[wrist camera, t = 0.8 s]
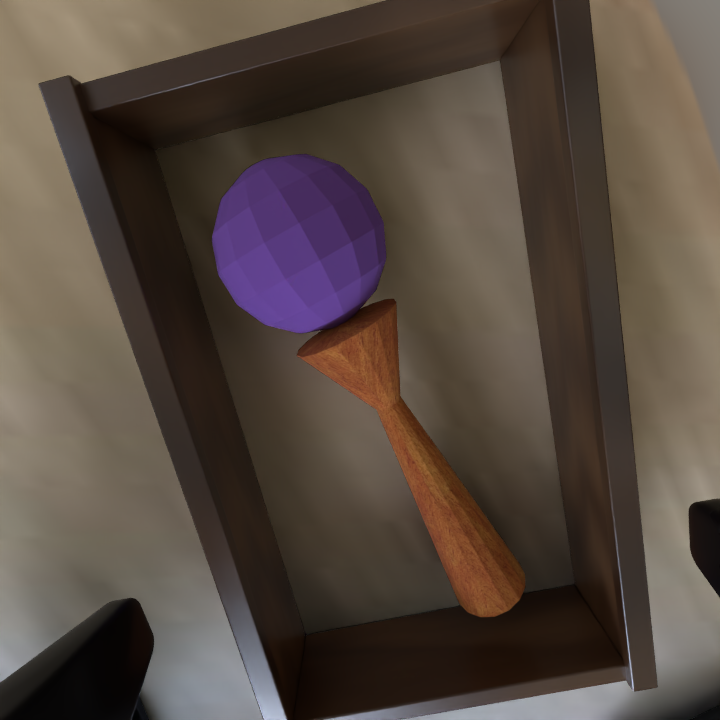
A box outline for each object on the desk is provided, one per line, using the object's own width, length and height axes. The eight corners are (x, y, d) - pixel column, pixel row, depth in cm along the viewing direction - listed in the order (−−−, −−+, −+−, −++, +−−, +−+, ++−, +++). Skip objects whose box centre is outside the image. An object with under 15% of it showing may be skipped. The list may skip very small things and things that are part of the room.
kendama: (431, 661, 18) (138, 216, 13) (429, 550, 24) (224, 207, 18) (576, 630, 16) (308, 100, 11) (537, 518, 22) (347, 129, 16)
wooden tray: (594, 595, 22) (658, 688, 17) (293, 651, 23) (275, 754, 18) (519, 28, 16) (584, -68, 12) (127, 132, 17) (36, 82, 13)
